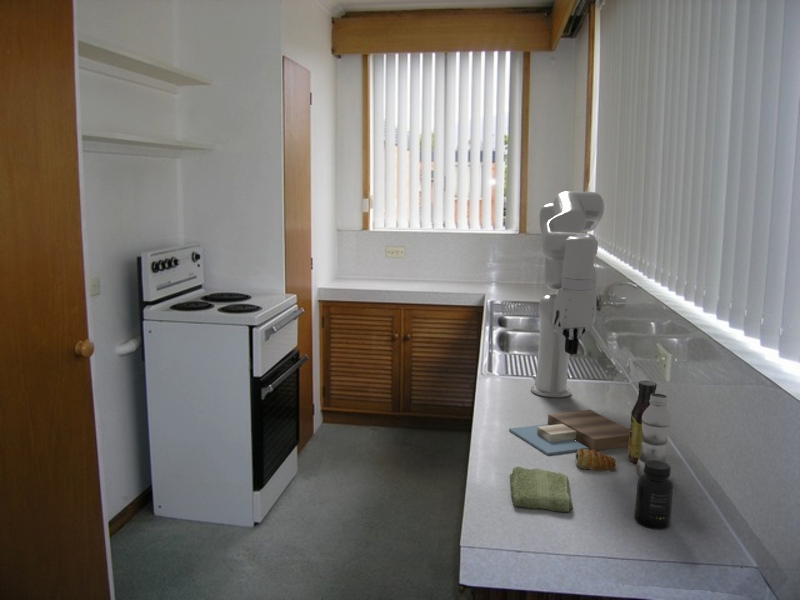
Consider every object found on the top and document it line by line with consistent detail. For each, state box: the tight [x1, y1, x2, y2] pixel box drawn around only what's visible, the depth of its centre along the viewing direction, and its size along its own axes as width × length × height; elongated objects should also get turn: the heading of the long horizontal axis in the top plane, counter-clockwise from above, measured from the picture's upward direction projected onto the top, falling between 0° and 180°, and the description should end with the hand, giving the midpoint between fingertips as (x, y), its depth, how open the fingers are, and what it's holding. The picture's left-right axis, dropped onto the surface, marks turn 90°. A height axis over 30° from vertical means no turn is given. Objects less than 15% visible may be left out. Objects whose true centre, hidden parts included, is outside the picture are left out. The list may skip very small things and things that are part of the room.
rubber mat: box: [508, 423, 589, 456], centre depth 184 cm, size 18×12×1 cm, turn 23°
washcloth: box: [509, 466, 574, 513], centre depth 152 cm, size 13×18×3 cm
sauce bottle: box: [627, 380, 658, 464], centre depth 170 cm, size 7×6×20 cm
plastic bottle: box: [635, 392, 673, 478], centre depth 159 cm, size 6×7×20 cm
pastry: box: [575, 448, 617, 472], centre depth 168 cm, size 9×7×4 cm
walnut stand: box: [547, 409, 630, 452], centre depth 189 cm, size 20×14×3 cm
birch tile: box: [537, 424, 577, 442], centre depth 185 cm, size 6×8×2 cm
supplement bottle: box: [633, 460, 675, 530], centre depth 140 cm, size 7×7×12 cm
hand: (570, 352), depth 186 cm, fingers closed
